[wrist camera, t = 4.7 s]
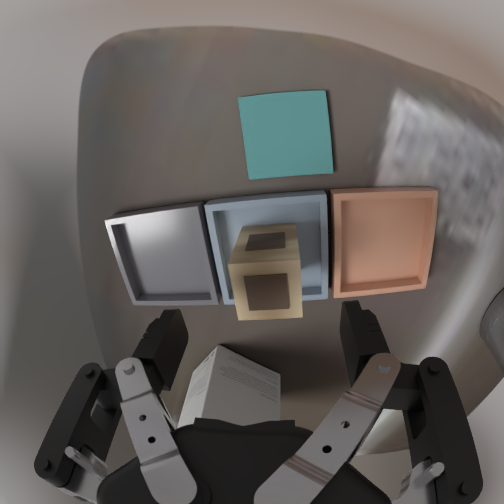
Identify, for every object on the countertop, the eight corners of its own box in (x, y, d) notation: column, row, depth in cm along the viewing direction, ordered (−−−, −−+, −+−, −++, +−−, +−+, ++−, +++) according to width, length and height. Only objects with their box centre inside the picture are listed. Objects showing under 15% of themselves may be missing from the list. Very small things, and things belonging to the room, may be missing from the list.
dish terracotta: (429, 186, 18) (438, 191, 17) (418, 279, 22) (425, 288, 20) (329, 189, 19) (333, 194, 18) (331, 288, 23) (333, 298, 21)
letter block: (295, 221, 20) (300, 258, 15) (298, 269, 22) (302, 318, 16) (241, 225, 21) (227, 263, 15) (249, 273, 22) (238, 321, 17)
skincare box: (192, 369, 29) (153, 489, 15) (220, 339, 27) (181, 484, 13) (252, 398, 31) (236, 512, 17) (286, 373, 28) (280, 507, 14)
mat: (324, 91, 16) (325, 90, 16) (332, 172, 19) (333, 173, 18) (238, 98, 17) (237, 97, 17) (249, 178, 20) (249, 179, 19)
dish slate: (323, 189, 19) (326, 194, 18) (325, 288, 23) (327, 298, 22) (209, 199, 21) (204, 205, 19) (227, 294, 24) (224, 304, 23)
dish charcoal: (203, 200, 21) (197, 206, 19) (222, 294, 24) (218, 304, 23) (113, 214, 22) (104, 220, 20) (139, 296, 25) (133, 305, 24)
